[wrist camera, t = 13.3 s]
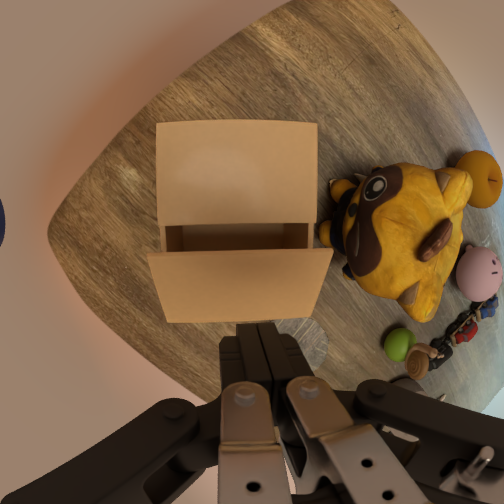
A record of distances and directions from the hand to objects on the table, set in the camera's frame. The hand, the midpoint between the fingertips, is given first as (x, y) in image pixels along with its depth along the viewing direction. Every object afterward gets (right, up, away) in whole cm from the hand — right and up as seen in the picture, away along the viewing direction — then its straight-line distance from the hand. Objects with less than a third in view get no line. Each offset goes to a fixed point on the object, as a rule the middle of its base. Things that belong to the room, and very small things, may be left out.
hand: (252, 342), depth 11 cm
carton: (-2, +9, +22) cm, 24 cm away
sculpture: (+5, -11, +28) cm, 31 cm away
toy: (+37, +1, +29) cm, 47 cm away
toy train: (+39, -10, +32) cm, 52 cm away
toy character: (+16, +7, +25) cm, 30 cm away
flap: (-1, +1, +11) cm, 11 cm away
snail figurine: (+23, -10, +30) cm, 39 cm away
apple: (+33, +16, +24) cm, 44 cm away
